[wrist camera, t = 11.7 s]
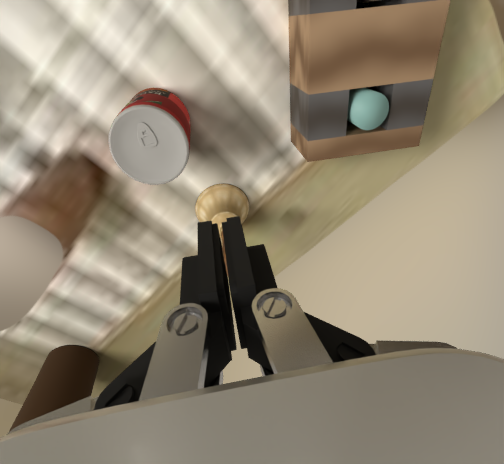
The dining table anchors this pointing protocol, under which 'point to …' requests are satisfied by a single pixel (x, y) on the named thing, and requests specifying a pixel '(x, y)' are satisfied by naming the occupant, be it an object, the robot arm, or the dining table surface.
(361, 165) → the dining table surface
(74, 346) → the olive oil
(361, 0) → the steel peg
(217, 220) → the hand bell
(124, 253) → the dining table surface
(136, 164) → the canned food
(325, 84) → the socket block
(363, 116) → the teal peg
